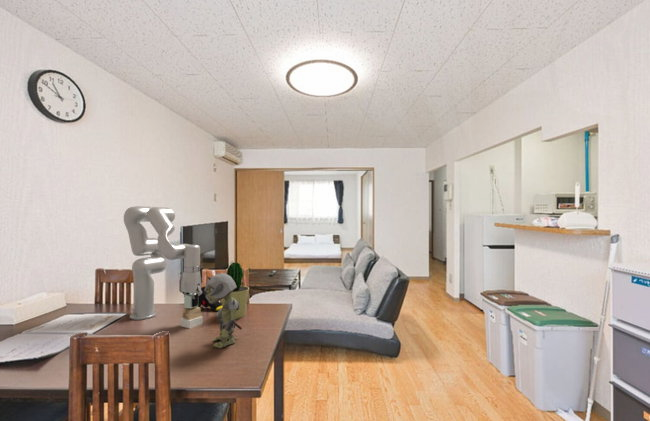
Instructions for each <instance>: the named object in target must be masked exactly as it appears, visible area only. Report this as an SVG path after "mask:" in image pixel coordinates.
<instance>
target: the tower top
mask: <svg viewBox="0 0 650 421" xmlns="http://www.w3.org/2000/svg"><path fill="white" fill-rule="evenodd" d="M201 310H202V309H201V306H200V307H194V308H191V309H190V308H185V307H184V308H182V317H183V318H185V319H188V320H191V319H194V318H198V317H201V316H202V315H201V312H202V311H201Z"/></svg>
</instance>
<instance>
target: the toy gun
mask: <svg viewBox="0 0 650 421" xmlns="http://www.w3.org/2000/svg"><path fill="white" fill-rule="evenodd" d="M205 287H206V285H205V286H203V287H202V286H201V291H202V294H201V295H200V296H199V298H198V306H197V307H200V308H201V307H202V306H203V307H204V308H210V309H211V310H212V311H213V312H216V311H219V310H221V309H222V302H220V301H218V302H216V303H214V304H210V303H209V301H208V299H207V298H206V297H207V296H206V295H207V293H206V291H207V289H208V288H207V289H206V291H205ZM205 296H206V297H205Z"/></svg>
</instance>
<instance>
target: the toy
mask: <svg viewBox="0 0 650 421" xmlns="http://www.w3.org/2000/svg"><path fill="white" fill-rule="evenodd" d="M206 278H207V279H208V280H207V282H206V284H205V286H206V287H205V286H204V287H205V291H206V289H207V291H206V293H207V295H206V296H207V297H206V296H205V297H206V298H207V299H208V301H209V303H210V304H214V303H216V302H218V301H219V302H220V301H222V300H221V299H222V298H224V300H225V303H224V305H223V307H222V309H220V310H218V312H217V313H215V316H216V317H218V319H217V321H218V323H219V324H218V329H219V336H217V337H214V338H213V339H212V342H215V343H214V344H213V345H212V347H215V348H217V349H222V348H225V347H227V346H228V345H234V344H235V342H236V340H235V336H234V332H235V329H236V328H237V329H239V330H240V331H241V330H242V329H243V327H242V326H240V325H239V324H238V323H237V322H236V319H235V316H236V311H237V310H238V309H239V303H238V301H237V300H236V299H235V298H233V297H231V296H230V294H231V293H232V292H233V290H234V289H235V288H236V287H237V286H236V283H235V282H234V280H233V279H232V277H231V276H229V275H227V273H217V274H215V275H213V276H212V277H209V276H208V275H207V277H206ZM218 341H219V342H218Z"/></svg>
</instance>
